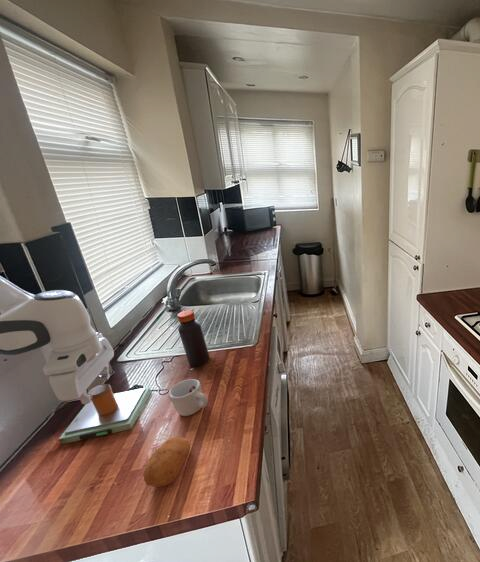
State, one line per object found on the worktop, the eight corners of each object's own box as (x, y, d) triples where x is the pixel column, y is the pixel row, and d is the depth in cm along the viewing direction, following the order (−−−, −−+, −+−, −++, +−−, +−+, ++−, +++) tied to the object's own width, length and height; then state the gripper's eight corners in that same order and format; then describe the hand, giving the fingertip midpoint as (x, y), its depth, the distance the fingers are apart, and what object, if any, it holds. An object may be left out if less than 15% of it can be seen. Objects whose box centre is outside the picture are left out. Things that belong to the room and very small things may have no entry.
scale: (60, 446, 80) (56, 439, 79) (92, 404, 94) (88, 397, 93) (130, 430, 84) (127, 423, 83) (151, 392, 98) (148, 385, 97)
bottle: (200, 368, 109) (185, 319, 101) (184, 365, 111) (169, 317, 103) (214, 357, 115) (201, 309, 107) (199, 354, 117) (185, 307, 109)
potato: (142, 499, 67) (128, 475, 65) (171, 452, 79) (161, 430, 77) (175, 491, 68) (163, 467, 65) (199, 445, 80) (190, 423, 78)
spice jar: (93, 417, 86) (83, 397, 83) (102, 404, 90) (93, 385, 87) (113, 412, 87) (104, 393, 84) (121, 401, 91) (113, 381, 89)
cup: (219, 403, 93) (213, 382, 90) (199, 424, 86) (192, 402, 83) (191, 397, 96) (184, 376, 93) (169, 416, 89) (161, 395, 86)
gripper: (85, 330, 89) (102, 369, 94) (36, 374, 71) (61, 419, 76) (111, 327, 91) (126, 365, 96) (70, 369, 73) (91, 413, 78)
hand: (97, 390), depth 86 cm, fingers open, 8 cm apart
